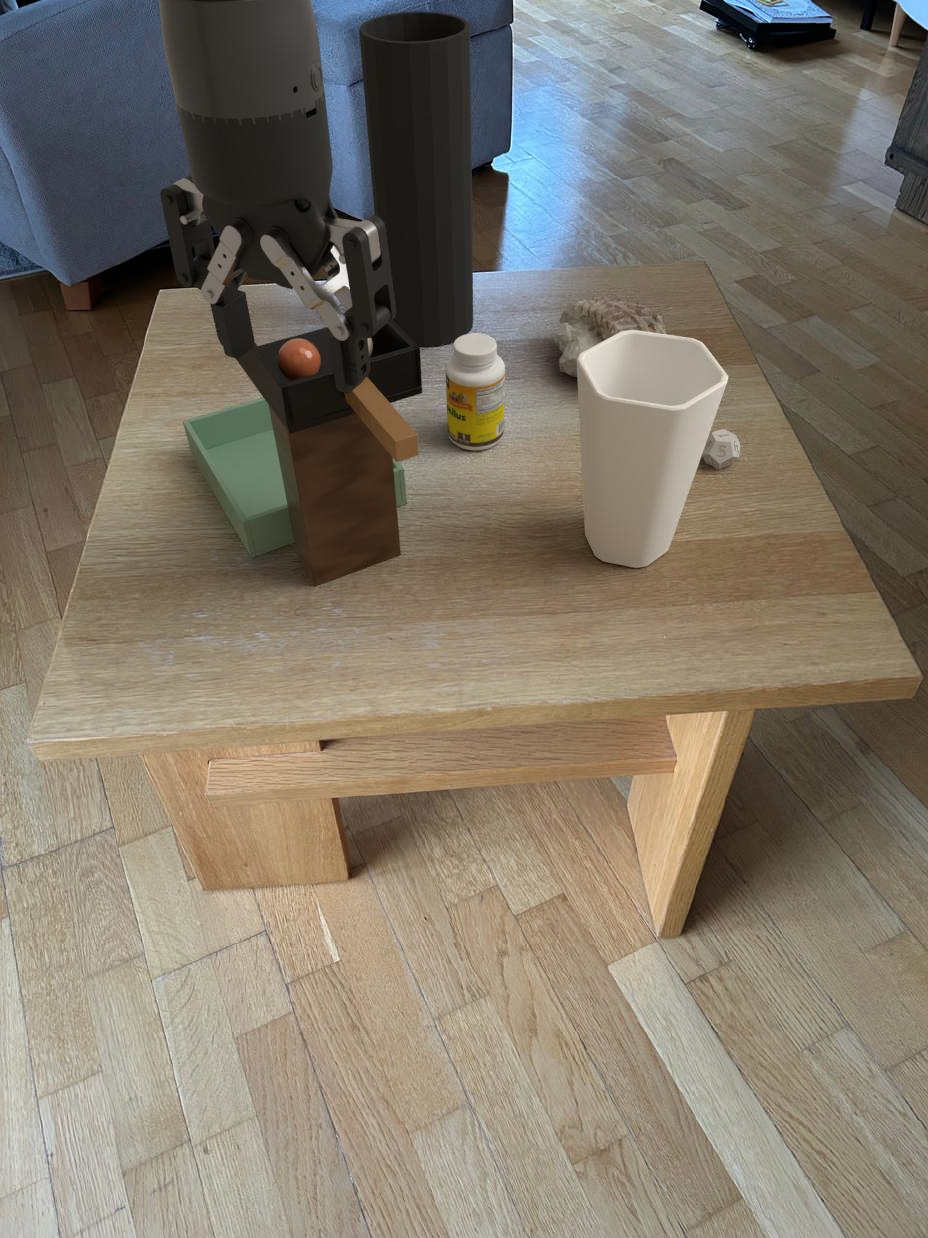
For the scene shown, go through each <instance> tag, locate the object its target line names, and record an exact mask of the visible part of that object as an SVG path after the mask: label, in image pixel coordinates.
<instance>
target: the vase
mask: <svg viewBox="0 0 928 1238" xmlns="http://www.w3.org/2000/svg"><path fill="white" fill-rule="evenodd" d="M358 35H359V45H360V46H359V47H360V58H361V69H362V81H363V92H364V103H365V104H364V106H365V117H366V128H367V139H368V140H367V141H368V152H369V153H368V154H369V165H370V176H371V187H372V188H371V189H372V198H373V209H374V210H373V211H374V215H375V216H378V217H379V218H381V219H382V221H383V222H384V224H385V227H386V235H387V243H388V250H389V258H390V266H391V274H392V282H393V290H394V298H395V305H396V316H395V318H393V319H392V320H393V321H394V322H395V323H396V324H397V325H398V326H399V327H400V328H401V329H402V330H403V331H404V332H405V333H406V334H407V335H408V336H409V337H410V338H411V339H412V340H413V341H414V342H415V343H416V344H417V345H418V346H419V347H425V348H427V347H439V346H440V347H441V346H444V345H449V344H450V343H452V344H453V343H454V342H455V340H456V339H457V338H458V337H460V336H462V335H465V334H469V332H470V331H471V330H472V329H473V326H474V266H473V265H474V260H473V259H474V258H473V253H474V252H473V251H474V249H473V174H472V173H473V172H472V170H473V169H472V167H473V166H472V165H473V163H472V159H473V158H472V84H471V81H472V78H471V77H472V76H471V74H472V73H471V72H472V71H471V69H472V68H471V23H469V22H468V21H467V20H466V19H465V18H464V17H461V16H458V15H455V14H451V13H446V12H440V11H427V10H426V11H425V10H424V11H423V10H414V11H400V12H393V13H387V14H382V15H379V16H376V17H372V18H369V19H367V20H366V21H364V22H363V23H362V24H361V25H360V27H359V29H358Z"/></svg>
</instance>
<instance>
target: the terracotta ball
mask: <svg viewBox="0 0 928 1238" xmlns="http://www.w3.org/2000/svg"><path fill="white" fill-rule="evenodd" d="M278 366H279V369H280V371H281V373H282V374H283V375H284V376H285V377H286V378H287V379H289V380H290V381H293V380H297V379H300V378H304V377H307V376H311V375H314V374H317V373H318V372H319V370H320V367H321V356H320V353H319V351H318V349H317V348H316V346H315V345H314V344H313V343H311V342H310V341H308V340H305V339H301V338H296V339H291V340H289V341H287V342H286V343H285V344H284V345H283V346H282V347H281V349H280V350H279V353H278Z"/></svg>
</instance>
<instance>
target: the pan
mask: <svg viewBox="0 0 928 1238" xmlns="http://www.w3.org/2000/svg"><path fill="white" fill-rule="evenodd" d="M332 336H333V334H332V333H331V331H330V330H329V328H328V327H327V326H326V327H322V328H319V329H315V330H312V331H307V332H304V333H301V334H300V333H299V334H297V335H293V336H290V337H286V338H282V339H278V340H275V341H272V342H268V343H264V344H261V345H258V344H257V343H256V341H254V345H253V347H252V349H250V350H249V351H248V352H246V353H245V354H244V355H242V356H241V357H240V358H238V359H235V360H236V362H237V364H239V366H240V367H241V369H242V370H243V371H244V372H245V374H246V376H247V377H248V378H249V380H250V381H251V382H252V384H253V385H254V387H255V388H256V389H257V391H258V393H260V396H262V398H264V399H265V400H266V402H267V403H268V405H269V406H270V407H271V409H272V410H273V412H274V413H275V414H276V416H277V417H278V419H279V420H280V421H281V423H282V424H283V426H284V427H285V428H286V430H287V431H288V433H289V434H292V433H295V432H298V431H302V430H305V429H308V428H311V427H315V426H318V425H321V424H324V423H327V422H331V421H334V420H337V419H340V418H344V417H347V416H350V415H353V414H357V415H358V416H359V417H360V419H361V420H362V421H363V422H364V423H365V425H366V426H367V427H368V428H369V430H370V431H371V432H372V433H373V434H374V436H375V437H376V438H377V439H378V440H379V442H380V443H381V444H382V445H383V446H384V448H385V449H386V450H387V451H388V453H389V454H390V455H391V456H392V457H393V459H394V460H395V461H396V462H399V463H400V462H401V461H405V460H407V459H410V458H414V457H416V456H418V455H420V453H419V451H420V450H419V439H418V437H419V434H418V433H417V432H416V431H415V429H414V428H413V427H412V426H411V425H410V424H409V423H408V421H406V419H405V418H404V417H403V416H402V415H401V414H400V412H399V411H398V410H397V409H396V408H395V406H393V404H392V403H396V402H399V401H401V400H405V399H408V398H411V397H414V396H417V395H421V394H423V380H422V364H421V363H422V362H421V346H418V345H417V344H416V343H415V342H414V341H413V340H412V339H411V338H410V337H409V336H408V335H407V334H406V333H405V332H404V331H403V330H402V329H401V328H400V327H399V326H398V325H397V324H396V323H395V322H394V321H393V320H391V321H390V322H388V323H387V324H385V325H384V326H383V327H382V328H381V329H379V330H378V331H377V333H376V334H375V335H373V336H372V337H371V338H372V341H373V352H372V355H371V357H370V358H369V359H370V360H369V361H370V372H369V375H368V376H367V377H366V378H365V379H364V380H363V382H362V383H361V384H360V385H359V386H357V387H356V388H355V389H354V390H353V391H352V392H351V393H345V392H342V391H338V390H337V389H336V383H335V375H334V368H333V360H332V352H331V344H330V338H331V337H332ZM296 338H301V339H305V340H308V341H310V342H311V343H313V344H314V345H315V346H316V348H317V349H318V351H319V353H320V356H321V367H320V370H319V372H318V373H317V374H314V375H311V376H307V377H304V378H300V379H297V380H293V381H290V380H289V379H287V378H286V377H285V376H284V375H283V374H282V373H281V371H280V369H279V366H278V353H279V350H280V349H281V347H282V346H283V345H284V344H285V343H286V342H287V341H289V340H291V339H296Z"/></svg>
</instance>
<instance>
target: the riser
mask: <svg viewBox="0 0 928 1238" xmlns="http://www.w3.org/2000/svg"><path fill="white" fill-rule="evenodd" d="M269 410H270V416H271V421H272V426H273V431H274V437H275V442H276V447H277V452H278V458H279V463H280V468H281V473H282V479H283V484H284V489H285V494H286V500H287V505H288V510H289V515H290V521H291V526H292V531H293V536H294V542H295V543H294V546H295V552H296V556H297V560H298V561H299V563H300V564H301V566H302V568H303V570H304V571H305V572H306V574H307V576H308V577H309V579H310V581H311V582H312V583H313V585H314V586H315V587H316V586H319V585H322V584H325V583H328V582H329V581H330V582H331V581H333V580H336V579H340V578H341V577H344V576H346V575H349V574H353V573H355V572H358V571H360V570H363V569H365V568H368V567H371V566H374V565H376V564H379V563H382V562H385V561H387V560H390V559H393V558H395V557H398V556H401V555H402V552H401V540H400V538H401V537H400V531H399V529H400V528H399V517H398V507H397V503H396V492H395V480H394V468H393V457H392V456H391V455H390V454H389V453H388V451H387V450H386V449H385V448H384V446H383V445H382V444H381V443H380V442H379V440H378V439H377V438H376V437H375V436H374V434H373V433H372V432H371V431H370V430H369V428H368V427H367V426H366V425H365V423H364V422H363V421H362V420H361V419H360V417H359V416H358V415H357V414H353V415H350V416H347V417H344V418H340V419H337V420H334V421H331V422H327V423H324V424H321V425H318V426H315V427H311V428H308V429H305V430H302V431H298V432H295V433H292V434H289V433H288V431H287V430H286V428H285V427H284V426H283V424H282V423H281V421H280V420H279V419H278V417H277V416H276V414H275V413H274V412H273V410H272V409H271V407H270V406H269Z"/></svg>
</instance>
